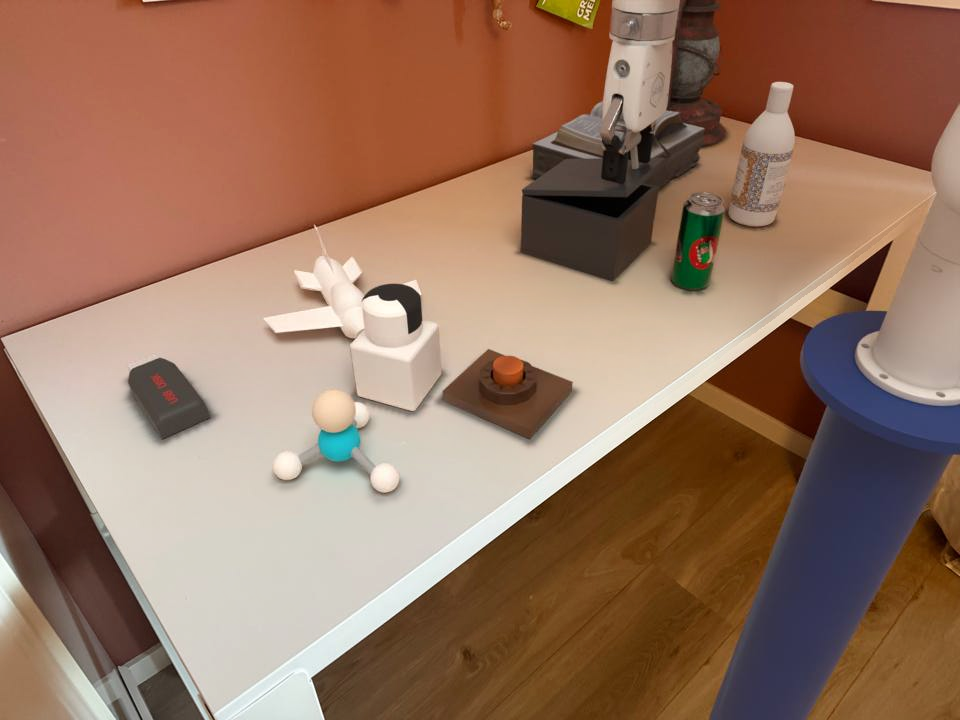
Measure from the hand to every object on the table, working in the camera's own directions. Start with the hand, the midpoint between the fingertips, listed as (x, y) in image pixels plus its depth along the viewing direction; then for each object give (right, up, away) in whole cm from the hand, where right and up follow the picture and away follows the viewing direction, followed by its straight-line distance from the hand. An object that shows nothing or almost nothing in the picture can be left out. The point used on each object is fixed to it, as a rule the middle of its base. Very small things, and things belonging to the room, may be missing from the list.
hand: (625, 169), depth 94 cm
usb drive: (-53, -29, -15) cm, 63 cm away
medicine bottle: (-28, -28, -14) cm, 42 cm away
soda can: (+9, -15, +2) cm, 17 cm away
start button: (-16, -27, -17) cm, 36 cm away
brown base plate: (-16, -29, -16) cm, 37 cm away
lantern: (+19, +20, +46) cm, 54 cm away
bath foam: (+23, -3, +17) cm, 28 cm away
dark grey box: (-4, -9, +10) cm, 14 cm away
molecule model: (-33, -35, -22) cm, 53 cm away
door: (-4, 0, +3) cm, 5 cm away
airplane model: (-37, -18, -1) cm, 41 cm away
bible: (+5, +8, +31) cm, 33 cm away
